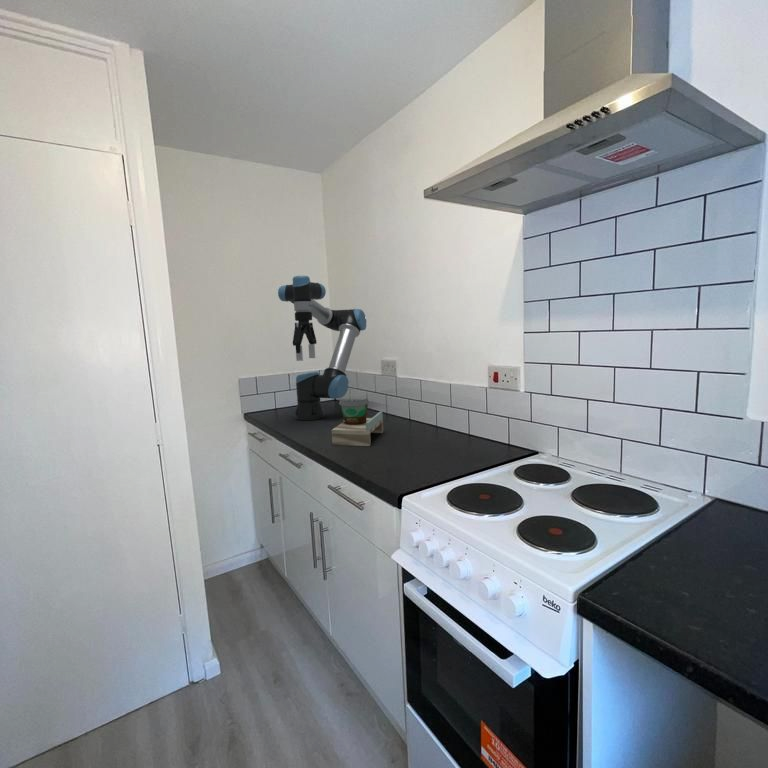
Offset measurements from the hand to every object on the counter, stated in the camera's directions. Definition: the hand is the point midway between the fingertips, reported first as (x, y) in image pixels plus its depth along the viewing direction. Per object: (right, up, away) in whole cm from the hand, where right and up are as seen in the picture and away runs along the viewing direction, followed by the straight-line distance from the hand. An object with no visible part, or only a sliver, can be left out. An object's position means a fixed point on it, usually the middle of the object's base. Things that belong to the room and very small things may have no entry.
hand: (306, 359), depth 189 cm
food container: (+23, -28, -18) cm, 40 cm away
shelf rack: (+25, -33, -17) cm, 45 cm away
